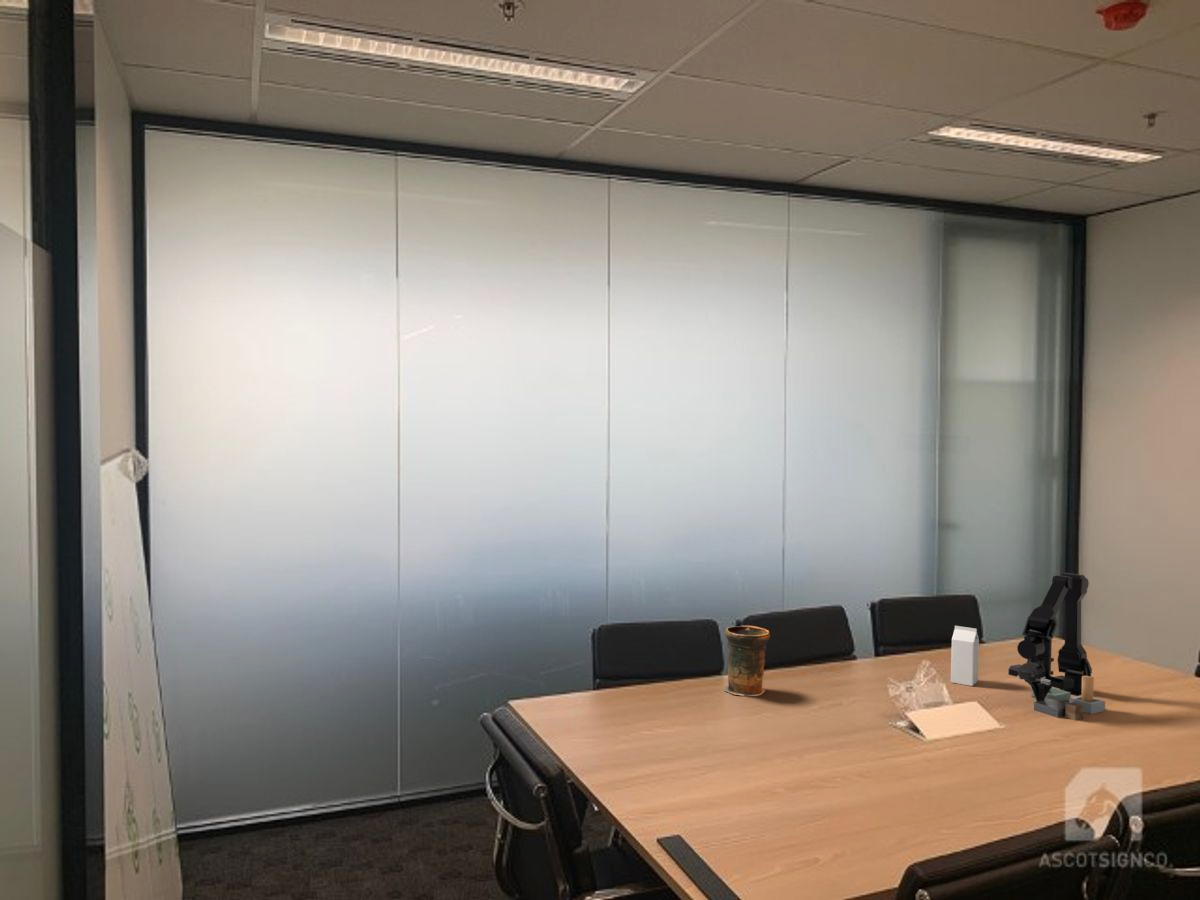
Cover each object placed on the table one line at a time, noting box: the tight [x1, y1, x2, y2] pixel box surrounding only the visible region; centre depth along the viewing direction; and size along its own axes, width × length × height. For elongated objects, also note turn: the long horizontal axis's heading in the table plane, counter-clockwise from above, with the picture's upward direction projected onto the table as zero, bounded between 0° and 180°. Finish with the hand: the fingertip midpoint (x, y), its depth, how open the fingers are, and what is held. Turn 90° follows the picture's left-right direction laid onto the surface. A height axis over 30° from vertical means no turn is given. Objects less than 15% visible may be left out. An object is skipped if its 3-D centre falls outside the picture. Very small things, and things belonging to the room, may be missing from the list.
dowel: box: [1080, 675, 1095, 703], centre depth 270 cm, size 3×3×10 cm
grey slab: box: [1033, 699, 1068, 719], centre depth 266 cm, size 8×8×3 cm
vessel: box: [723, 625, 771, 697], centre depth 282 cm, size 14×14×20 cm
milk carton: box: [950, 625, 980, 687], centre depth 297 cm, size 7×7×19 cm
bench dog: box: [1065, 702, 1084, 721], centre depth 261 cm, size 4×3×4 cm
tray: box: [1031, 687, 1072, 703], centre depth 280 cm, size 8×8×2 cm
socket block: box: [1068, 695, 1106, 715], centre depth 270 cm, size 7×7×3 cm
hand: (1039, 703), depth 271 cm, fingers closed
